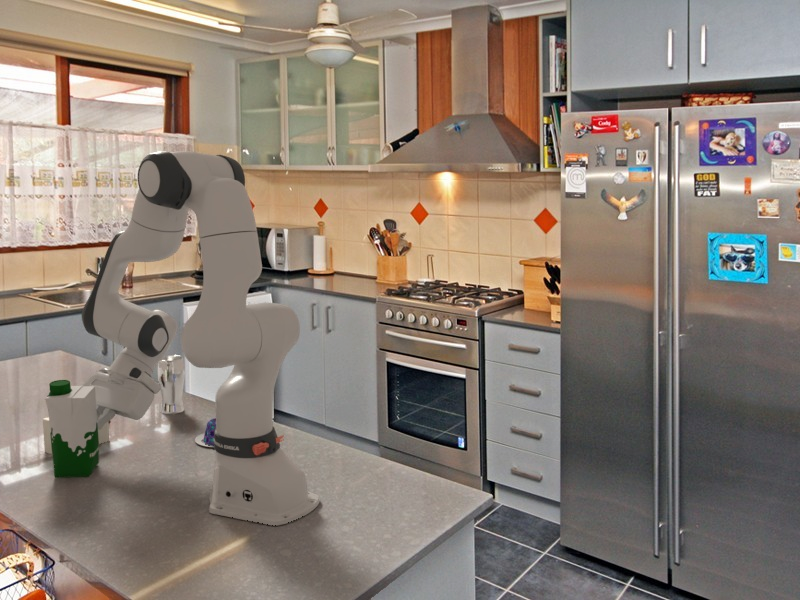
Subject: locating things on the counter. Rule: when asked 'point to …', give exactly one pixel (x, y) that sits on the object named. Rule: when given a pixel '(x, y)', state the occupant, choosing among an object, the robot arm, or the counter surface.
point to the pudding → (207, 434)
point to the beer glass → (171, 383)
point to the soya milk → (73, 429)
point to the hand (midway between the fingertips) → (93, 427)
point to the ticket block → (102, 436)
